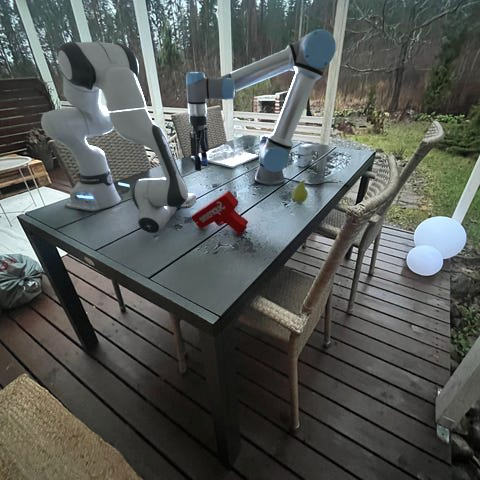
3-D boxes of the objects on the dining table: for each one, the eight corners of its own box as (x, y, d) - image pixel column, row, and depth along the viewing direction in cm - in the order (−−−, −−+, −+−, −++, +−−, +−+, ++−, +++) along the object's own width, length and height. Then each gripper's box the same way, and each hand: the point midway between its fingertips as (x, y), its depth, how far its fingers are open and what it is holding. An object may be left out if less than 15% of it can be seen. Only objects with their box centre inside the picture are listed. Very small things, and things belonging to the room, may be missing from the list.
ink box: (304, 162, 171) (306, 143, 164) (310, 164, 168) (313, 144, 161) (296, 165, 166) (298, 145, 159) (302, 167, 163) (305, 147, 156)
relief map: (232, 167, 162) (232, 159, 160) (191, 158, 180) (190, 150, 177) (257, 157, 181) (258, 149, 178) (218, 149, 198) (217, 142, 196)
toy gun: (254, 223, 98) (229, 189, 94) (251, 228, 95) (225, 194, 91) (219, 242, 108) (195, 212, 104) (215, 247, 105) (190, 217, 101)
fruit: (288, 200, 123) (290, 174, 116) (302, 197, 125) (305, 172, 119) (296, 206, 118) (299, 179, 111) (310, 203, 120) (314, 177, 114)
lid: (210, 163, 126) (210, 158, 125) (200, 166, 122) (200, 161, 121) (201, 160, 130) (201, 156, 129) (191, 163, 126) (190, 159, 125)
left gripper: (190, 199, 102) (199, 186, 113) (138, 197, 104) (153, 184, 116) (192, 214, 105) (201, 199, 117) (142, 211, 108) (155, 197, 119)
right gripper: (199, 111, 124) (202, 161, 136) (178, 117, 108) (184, 173, 121) (214, 112, 122) (216, 163, 134) (195, 118, 106) (200, 175, 119)
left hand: (176, 191), depth 116 cm, fingers closed on jar, 5 cm apart
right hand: (201, 168), depth 127 cm, fingers closed on lid, 6 cm apart
